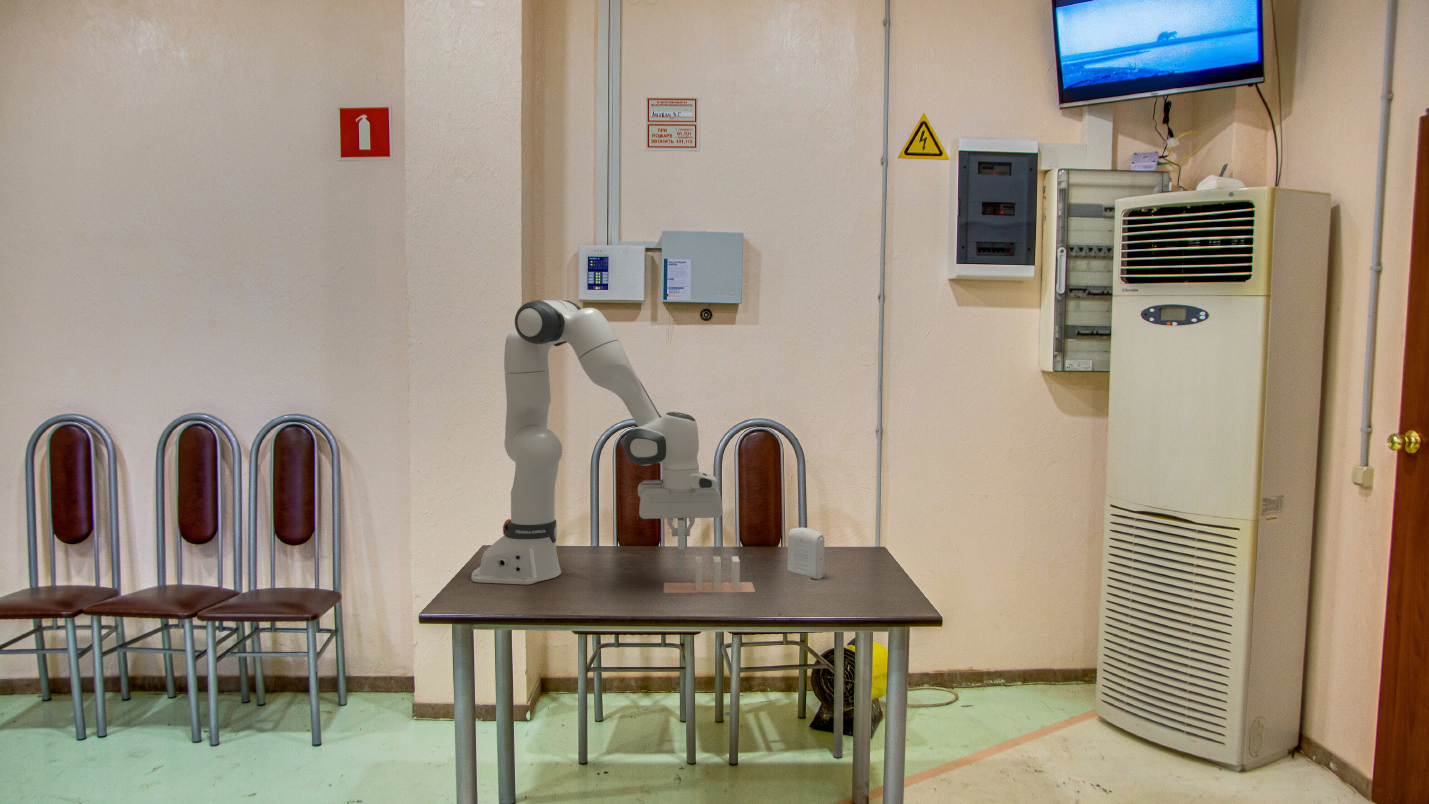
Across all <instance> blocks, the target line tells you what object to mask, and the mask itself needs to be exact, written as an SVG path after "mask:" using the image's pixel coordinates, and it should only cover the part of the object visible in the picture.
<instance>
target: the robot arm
mask: <svg viewBox="0 0 1429 804" xmlns="http://www.w3.org/2000/svg"><path fill="white" fill-rule="evenodd" d="M514 327H515V329H514V330H512V331H511V332H509V333H508V335H507V336H506V338H505V344H504V355H503V356H504V357H503V359H504V360H503V361H504V363H503V364H504V365H503V367H504V381H505V382H504V383H505V393H506V394H505V396H506V411H505V413H506V414H505V426H504V428H505V433H504V435H505V436H504V441H503V442H504V443H503V444H504V449H505V452H506V453H507V456H508V457H509V458H510V460H512V461H513V462H515V471H514V476H513V482H512V488H511V490H510V518H508V519H506V520H505V521H504V523H503V525H502V533H503V536H502V537H500V538H499V539H498V540H495V542H494V543H493V544H491V545H490V546H489V547H488V548H486V550H485V551H484V552H483V555H482V557H481V560H480V566H478V567H477V568H475V569H474V570H473V571H472V573H471V579H470V580H471V581H472V582H474V583H483V584H484V583H486V584H487V583H488V584H491V583H492V584H506V585H507V584H508V585H532V584H536V583H538V582H542V581H547V580H551V579H553V578H556V577H558V576H560V575H561V574H562V569H561V566H560V563H559V559H558V558H559V557H558V553H557V552H558V551H557V545H556V544H557V543H556V542H557V539H558V527H557V526H558V524H557V520H556V518H555V508H556V507H555V501H556V500H555V499H556V498H555V495H556V493H555V492H556V491H555V490H556V484H557V476H558V473H559V464H560V461H561V459H562V456H563V444H562V443H561V440H560V439H559V437H558V436H557V435H556V434H555V433H554V431H552V430H550V429H548V417H549V410H550V409H549V408H550V404H551V402H552V401H551V400H552V396H551V382H550V371H549V352H550V350H551V348H552V347H553V346H554V347H559V346H561V345H564V344H567V343H568V344H569V345H570V346H571V348H572V350H573V351H574V353H575V355H576V357H577V359H578V362H579V364H580V365H581V367H582V370H583V371H584V372H585V374H586V375H587V377H588V378H589V380H590V381H591V382H592V383H593V384H594V385H596V386H599V387H601V388H604V389H605V390H608V391H610V392H611V393H613V394H615V395H616V396H618V397H619V399H621V401H622V402H623V403H624V405H625V407H626V409H627V410H628V411H629V414H630V416H631V417H632V419H633V421H634V422H635V424H636V426H637V427H635V428H632V430H630V431H629V432H628V433H627V434H626V435H625V437H624V439H623V444H622V445H623V452H624V454H625V456H626V459H628V461H629V462H631V463H632V464H634V465H636V466H641V467H642V466H643V467H644V466H645V467H646V466H650V465H653V464H661V466H662V467H661V468H662V472H661V473H662V479H644V480H643V481H640V483H639V484H638V486H637V496H638V497H639V499H640V500H639V510H638V511H639V513H638V515H639V516H640V518H642V519H643V520H644V519H647V520H648V519H653V520H655V519H658V520H659V519H667V521H666V522H667V525H668V527H669V529H670V530H671V537H678V527H675V526H674V525H673V523H674V519H677V518H684V519H688V522H689V524H688V525H687V527H684V537H691V530H692V527H693V526H694V524H695V523H696V521H695V520H696V519H708V518H709V519H711V518H713V519H716V518H721V516H722V515H723V503H722V496H721V492H720V489H718V480H717V478H716V476H714V475H711V474H708V473H705V472H702V471H700V466H699V461H698V454H699V451H700V445H699V444H700V443H699V429H698V424H697V420H696V419H695V418H694V417H693V416H692V415H690V414H688V413H683V412H677V411H676V412H675V411H669V412H665V413H664V415H663V416H661V414H660V413H659V411H658V410H657V408H656V406H655V405H654V402H653V401H652V398H650V396H649V394H648V392H647V390H646V388H645V387H644V385H643V384H642V382H641V380H640V378H639V377H638V375H637V373H636V371H635V370H634V368H633V366H632V364H631V362H630V360H629V358H628V356H627V353H626V352H625V350H624V347H623V345H622V343H621V341H620V339H619V338H618V337H619V336H617V334H616V332H615V331H614V329H613V326H612V325H611V324H610V322H609V321H608V320H607V318H606V317H605V316H604V315H603V314H602V312H601V311H600V310H599V309H597V308H595V307H584V308H581V307H580V306H579V304H577V303H575V302H573V301H570V300H563V299H562V300H561V299H557V298H556V299H555V298H553V299H552V298H550V299H542V300H540V299H539V300H538V299H537V300H536V299H535V300H531V301H528V302H525V303H523V305H521V306H520V307H519V308H518V309H517V312H516V313H515V317H514Z"/></svg>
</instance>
